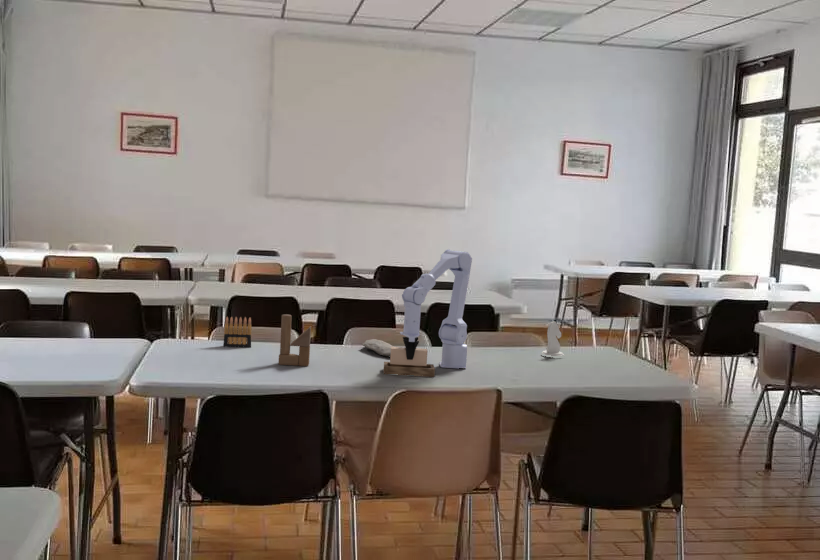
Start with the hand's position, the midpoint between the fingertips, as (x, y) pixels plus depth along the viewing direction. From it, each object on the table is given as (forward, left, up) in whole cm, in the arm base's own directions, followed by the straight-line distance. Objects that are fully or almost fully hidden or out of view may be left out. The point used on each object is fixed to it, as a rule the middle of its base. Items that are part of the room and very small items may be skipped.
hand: (409, 358), depth 290 cm
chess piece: (-63, -48, -6) cm, 79 cm away
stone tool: (+10, -35, -6) cm, 37 cm away
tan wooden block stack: (+41, -4, -6) cm, 42 cm away
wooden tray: (0, 0, -5) cm, 5 cm away
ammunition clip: (+66, -31, -6) cm, 73 cm away
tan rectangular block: (0, 0, -2) cm, 2 cm away
